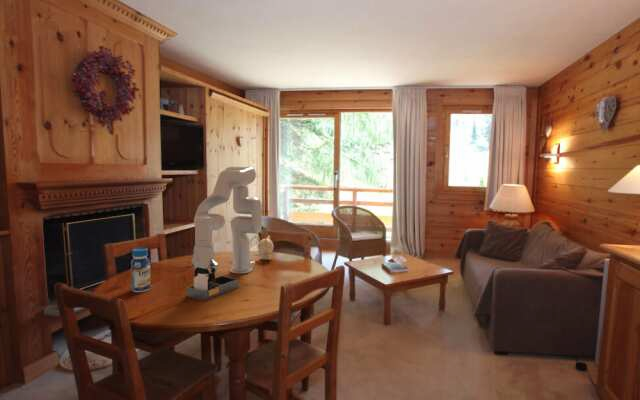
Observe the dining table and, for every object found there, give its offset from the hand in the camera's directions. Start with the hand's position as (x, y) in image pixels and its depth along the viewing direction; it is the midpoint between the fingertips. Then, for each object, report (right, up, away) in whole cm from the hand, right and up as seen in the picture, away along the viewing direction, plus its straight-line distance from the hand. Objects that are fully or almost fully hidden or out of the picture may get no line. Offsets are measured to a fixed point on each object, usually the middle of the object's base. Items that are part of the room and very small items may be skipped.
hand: (204, 279), depth 171 cm
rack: (+3, -7, +5) cm, 9 cm away
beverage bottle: (-33, -7, +7) cm, 34 cm away
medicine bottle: (0, -5, +1) cm, 5 cm away
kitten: (+19, -2, +66) cm, 69 cm away
